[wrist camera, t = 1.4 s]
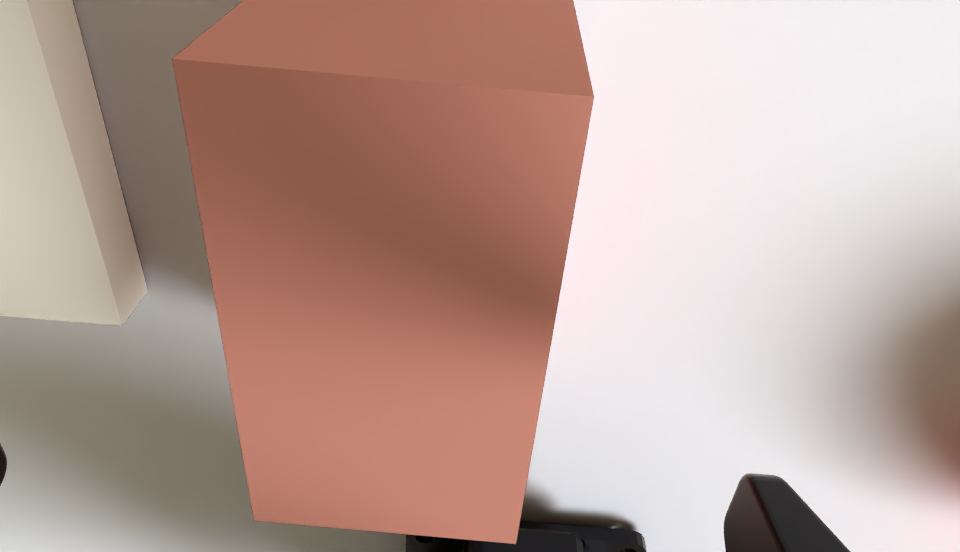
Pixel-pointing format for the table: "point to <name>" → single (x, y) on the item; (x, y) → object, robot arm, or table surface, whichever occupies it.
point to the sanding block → (387, 247)
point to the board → (58, 178)
